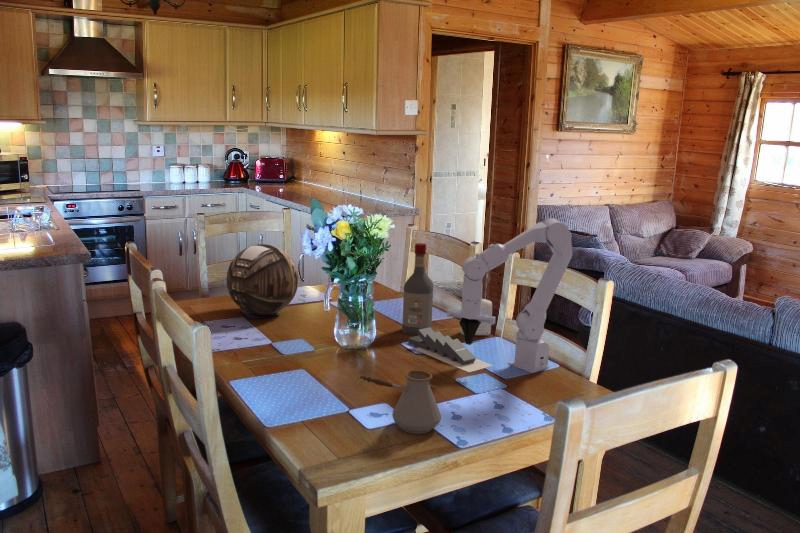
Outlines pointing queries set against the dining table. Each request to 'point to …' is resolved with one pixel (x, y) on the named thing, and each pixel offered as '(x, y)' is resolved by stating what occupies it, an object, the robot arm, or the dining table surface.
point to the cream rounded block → (483, 327)
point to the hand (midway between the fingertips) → (469, 343)
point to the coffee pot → (413, 402)
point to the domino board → (467, 367)
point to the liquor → (417, 296)
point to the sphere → (262, 279)
